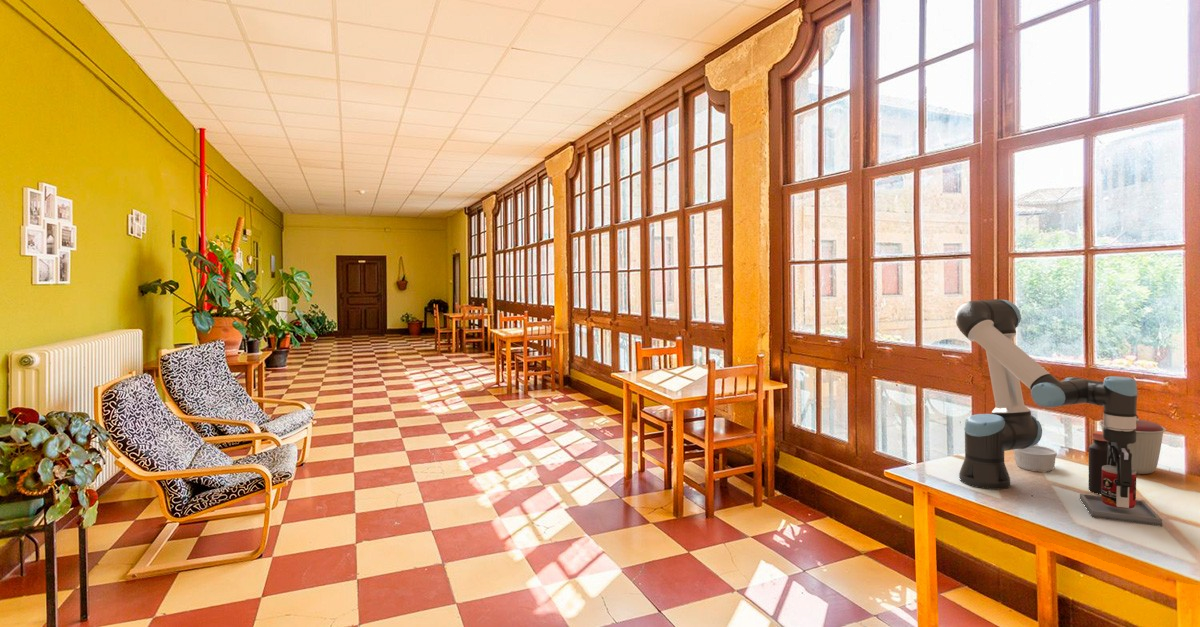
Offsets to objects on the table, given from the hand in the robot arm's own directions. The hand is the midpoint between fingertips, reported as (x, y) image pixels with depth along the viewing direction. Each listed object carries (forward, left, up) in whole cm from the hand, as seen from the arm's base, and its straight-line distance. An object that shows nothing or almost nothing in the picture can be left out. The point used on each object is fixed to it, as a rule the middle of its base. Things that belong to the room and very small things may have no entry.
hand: (1118, 501), depth 178 cm
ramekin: (-15, +40, -3) cm, 43 cm away
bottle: (0, +18, -3) cm, 18 cm away
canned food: (0, 0, -1) cm, 1 cm away
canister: (+15, +49, -3) cm, 51 cm away
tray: (0, 0, -3) cm, 3 cm away
